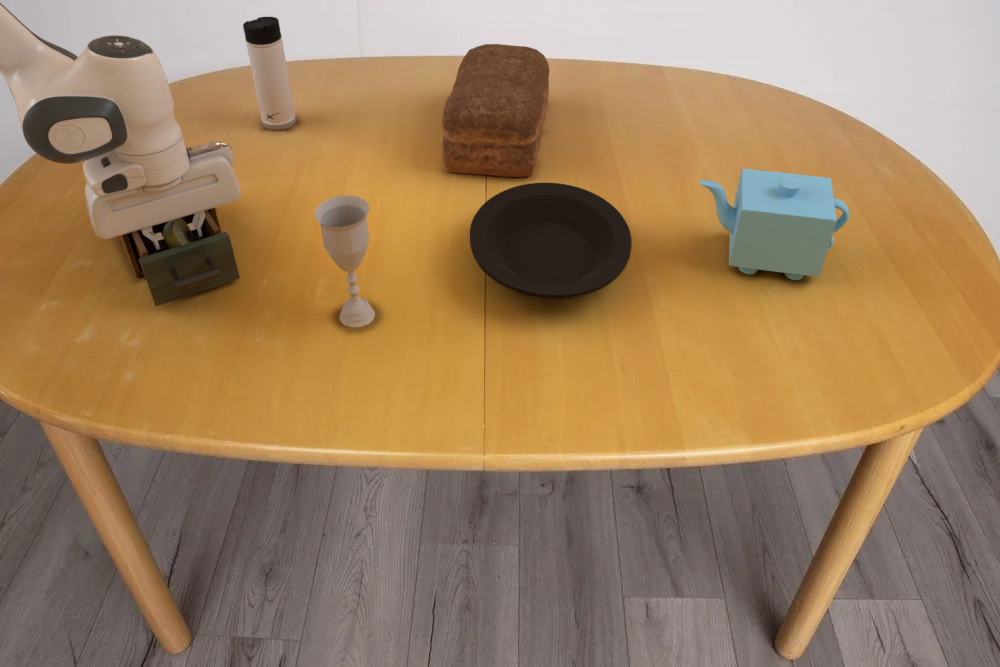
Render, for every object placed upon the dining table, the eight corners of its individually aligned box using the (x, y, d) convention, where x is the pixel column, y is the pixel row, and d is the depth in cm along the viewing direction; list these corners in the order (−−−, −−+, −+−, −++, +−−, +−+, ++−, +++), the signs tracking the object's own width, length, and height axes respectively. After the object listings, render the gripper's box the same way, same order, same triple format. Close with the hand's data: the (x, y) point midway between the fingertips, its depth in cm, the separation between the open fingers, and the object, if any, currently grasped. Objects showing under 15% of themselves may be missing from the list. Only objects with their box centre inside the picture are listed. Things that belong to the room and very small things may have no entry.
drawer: (249, 294, 127) (238, 251, 121) (163, 323, 122) (148, 279, 117) (212, 232, 138) (201, 190, 132) (132, 256, 133) (117, 214, 128)
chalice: (361, 338, 121) (346, 233, 109) (322, 322, 123) (303, 217, 111) (391, 308, 126) (380, 204, 113) (352, 293, 128) (337, 189, 116)
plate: (642, 322, 124) (646, 292, 120) (473, 328, 123) (472, 297, 119) (612, 209, 144) (615, 180, 140) (467, 213, 143) (467, 184, 139)
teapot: (830, 244, 137) (854, 168, 128) (835, 288, 129) (861, 211, 120) (688, 227, 141) (702, 152, 131) (685, 269, 132) (699, 192, 123)
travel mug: (275, 135, 162) (254, 30, 148) (256, 122, 165) (234, 18, 152) (303, 123, 165) (286, 20, 151) (284, 111, 168) (266, 8, 155)
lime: (190, 236, 130) (182, 207, 126) (204, 251, 127) (196, 223, 124) (161, 246, 128) (153, 218, 124) (174, 262, 125) (166, 234, 121)
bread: (551, 99, 172) (554, 34, 163) (535, 184, 150) (537, 114, 141) (465, 94, 174) (464, 29, 165) (437, 176, 151) (433, 107, 142)
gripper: (221, 127, 123) (241, 209, 132) (69, 167, 115) (101, 251, 124) (236, 147, 119) (255, 230, 128) (79, 190, 111) (111, 275, 120)
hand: (178, 241), depth 126 cm, fingers closed on lime, 4 cm apart
